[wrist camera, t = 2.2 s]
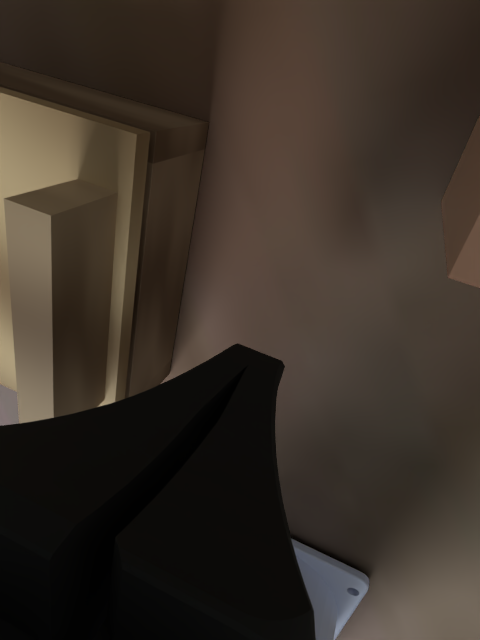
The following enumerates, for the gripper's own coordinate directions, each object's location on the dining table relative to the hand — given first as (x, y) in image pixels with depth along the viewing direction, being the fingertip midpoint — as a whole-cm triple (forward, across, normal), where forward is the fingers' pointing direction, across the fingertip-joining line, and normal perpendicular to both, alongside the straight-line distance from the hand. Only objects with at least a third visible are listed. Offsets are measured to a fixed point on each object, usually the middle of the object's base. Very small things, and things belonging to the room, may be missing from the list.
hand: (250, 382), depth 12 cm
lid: (+1, +11, 0) cm, 11 cm away
